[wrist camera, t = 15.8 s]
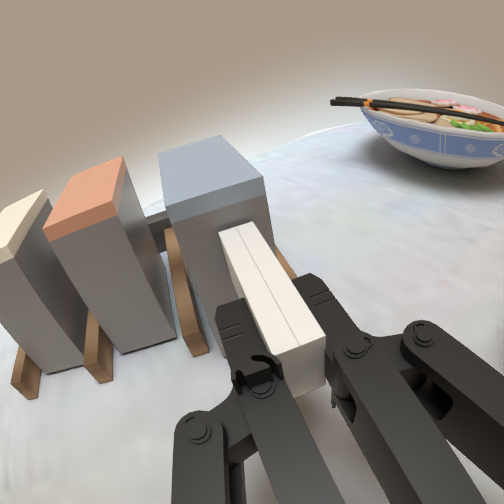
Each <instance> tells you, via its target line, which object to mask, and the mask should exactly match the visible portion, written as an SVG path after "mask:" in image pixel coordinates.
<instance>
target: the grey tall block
mask: <svg viewBox="0 0 504 504" xmlns="http://www.w3.org/2000/svg"><path fill="white" fill-rule="evenodd" d="M52 210H53V208H52V206H51V204H50V201H49V199H48V197H47V195H46V193H45V190H44V189H42V190H40V191H38V192H36V193H34V194H32V195H30V196H28V197H26V198H24V199H22V200H20V201H18V202H16V203H14V204H12V205H10V206H8V207H6V208H4V210H3V211H2V212H1V213H0V323H1V324H2V325H3V327H4V328H5V329H6V330H7V332H8V333H9V334H10V335H11V336H12V338H13V339H14V340H15V341H16V342H17V343H18V345H19V346H20V347H21V348H22V349H23V350H24V351H25V353H26V354H27V355H28V356H29V357H30V358H31V359H32V360H33V361H34V362H35V363H36V365H37V366H38V367H39V368H40V369H41V370H42V371H43V372H44V373H45V374H48V373H52V372H56V371H60V370H64V369H68V368H72V367H75V366H79V365H83V364H84V350H85V338H86V328H87V319H88V310H89V308H88V307H87V305H86V304H85V302H84V301H83V299H82V297H81V296H80V294H79V293H78V291H77V290H76V288H75V286H74V285H73V283H72V281H71V280H70V278H69V276H68V275H67V273H66V271H65V270H64V268H63V266H62V264H61V263H60V261H59V259H58V257H57V256H56V254H55V252H54V250H53V248H52V247H51V245H50V243H49V241H48V239H47V237H46V235H45V233H44V232H43V230H42V228H43V227H44V225H45V223H46V221H47V219H48V217H49V215H50V213H51V212H52Z"/></svg>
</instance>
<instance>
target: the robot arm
mask: <svg viewBox="0 0 504 504" xmlns="http://www.w3.org/2000/svg"><path fill="white" fill-rule="evenodd" d="M218 233H219V237H220V240H221V244H222V247H223V251H224V254H225V258H226V261H227V265H228V268H229V272H230V275H231V279H232V282H233V284H234V287H235V289H236V292H237V294H238V297H239V299H238V300H235V301H232V302H229V303H226V304H223V305H220V306H217V309H216V314H215V318H214V319H215V322H216V325H217V328H218V331H219V335H220V338H221V341H222V344H223V347H224V350H225V354H226V357H227V360H228V363H229V366H230V369H231V381H232V383H233V388H232V391H231V393H230V395H229V396H228V397H227V399H225V400H224V401H223V402H222V403H221V404H219V405H218V406H216V407H215V408H213V409H212V410H210V411H209V412H208V411H200V410H198V411H194V412H190V413H188V414H187V415H185V416H184V417H182V418H181V419H180V421H179V422H178V423H177V425H176V429H175V432H174V447H173V468H172V497H171V504H246V491H245V475H244V460H246V459H247V458H248V457H250V456H251V455H253V454H254V453H255V452H257V451H258V452H259V454H260V457H261V460H262V462H263V465H264V467H265V470H266V473H267V475H268V478H269V480H270V483H271V485H272V488H273V490H274V493H275V495H276V498H277V500H278V503H279V504H345V502H344V500H343V498H342V497H341V495H340V493H339V491H338V488H337V486H336V484H335V482H334V480H333V478H332V476H331V474H330V472H329V470H328V468H327V466H326V464H325V462H324V460H323V458H322V456H321V454H320V452H319V450H318V448H317V446H316V444H315V442H314V440H313V438H312V435H311V433H310V431H309V429H308V427H307V425H306V423H305V421H304V419H303V417H302V415H301V412H300V410H299V408H298V406H297V404H296V402H295V400H294V398H295V397H297V396H300V395H302V394H305V393H307V392H310V391H312V390H314V389H317V388H319V387H322V386H324V385H326V379H327V380H328V382H329V384H330V386H331V388H332V394H331V404H332V408H335V407H336V405H337V407H338V408H339V410H340V412H341V414H342V416H343V417H344V419H345V421H346V423H347V425H348V427H349V428H350V430H351V432H352V434H353V436H354V438H355V439H356V441H357V443H358V445H359V447H360V448H361V450H362V452H363V454H364V456H365V458H366V459H367V461H368V463H369V465H370V467H371V468H372V470H373V472H374V474H375V476H376V478H377V479H378V481H379V483H380V485H381V487H382V489H383V490H384V492H385V494H386V496H387V498H388V499H389V501H390V503H391V504H486V502H485V501H484V499H483V497H482V496H481V494H480V492H479V491H478V489H477V487H476V486H475V484H474V483H473V481H472V479H471V478H470V476H469V475H468V473H467V471H466V470H465V468H464V467H463V465H462V464H461V462H460V461H459V459H458V457H457V456H456V454H455V453H454V451H453V450H452V448H451V447H450V445H449V444H448V442H447V441H446V439H447V440H448V441H449V442H450V443H451V444H452V445H453V446H454V447H456V448H457V449H458V450H459V451H460V452H461V453H462V454H464V455H465V456H466V457H467V458H468V459H469V460H470V461H471V462H473V463H474V464H475V465H476V466H477V467H478V468H479V469H481V470H482V471H483V472H484V473H485V474H486V475H487V476H489V477H490V478H491V479H492V480H493V481H494V482H495V483H496V484H498V485H499V486H500V487H501V488H502V489H503V490H504V376H503V375H502V374H501V373H499V372H498V371H497V370H495V369H494V368H493V367H492V366H490V365H489V364H488V363H486V362H485V361H484V360H483V359H481V358H480V357H479V356H477V355H476V354H475V353H473V352H472V351H471V350H469V349H468V348H467V347H465V346H464V345H463V344H461V343H460V342H459V341H457V340H456V339H455V338H453V337H452V336H451V335H449V334H448V333H447V332H445V331H444V330H443V329H441V328H440V327H439V326H437V325H436V324H434V323H432V322H430V321H425V320H419V321H414V322H412V323H410V324H409V325H407V327H406V328H405V330H404V332H403V334H398V335H392V336H385V337H375V336H371V335H370V334H368V333H365V332H363V331H361V330H360V329H359V328H358V327H357V326H356V325H355V323H354V322H353V321H352V319H351V318H350V317H349V315H348V314H347V313H346V311H345V310H344V308H343V307H342V306H341V304H340V303H339V302H338V300H337V299H335V296H334V295H333V294H332V292H331V291H329V288H328V287H327V286H326V284H325V283H324V282H323V280H322V279H320V278H318V277H317V276H315V275H313V274H311V273H309V274H306V275H303V276H301V277H298V278H295V279H292V280H290V278H289V277H288V275H287V274H286V272H285V271H284V269H283V268H282V266H281V264H280V263H279V261H278V260H277V258H276V257H275V255H274V254H273V252H272V250H271V249H270V247H269V246H268V244H267V243H266V241H265V240H264V238H263V237H262V235H261V234H260V232H259V230H258V229H257V227H256V226H255V224H254V223H253V221H252V222H249V223H246V224H242V225H239V226H236V227H233V228H230V229H227V230H224V231H221V232H218Z"/></svg>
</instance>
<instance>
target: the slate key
mask: <svg viewBox="0 0 504 504" xmlns="http://www.w3.org/2000/svg"><path fill="white" fill-rule="evenodd" d="M158 158H159V167H160V174H161V181H162V189H163V196H164V202H165V208H166V210H167V213H168V216H169V219H170V222H171V225H172V227H173V230H174V233H175V236H176V239H177V241H178V244H179V247H180V249H181V252H182V255H183V258H184V260H185V263H186V265H187V268H188V271H189V273H190V276H191V279H192V281H193V284H194V286H195V289H196V291H197V294H198V296H199V299H200V301H201V304H202V306H203V309H204V311H205V314H206V316H207V319H208V321H209V324H210V326H211V328H212V331H213V333H214V336H215V338H216V340H217V343H218V345H219V347H220V350H221V352H222V354H223V357H226V354H225V350H224V347H223V344H222V341H221V338H220V335H219V331H218V328H217V325H216V322H215V319H214V318H215V314H216V309H217V306H220V305H223V304H226V303H229V302H232V301H235V300H238V299H239V297H238V294H237V292H236V289H235V287H234V284H233V282H232V279H231V275H230V272H229V268H228V265H227V261H226V258H225V254H224V251H223V247H222V244H221V240H220V237H219V233H218V232H221V231H224V230H227V229H230V228H233V227H236V226H239V225H242V224H246V223H249V222H252V221H253V223H254V224H255V226H256V227H257V229H258V230H259V232H260V234H261V235H262V237H263V238H264V240H265V241H266V243H267V244H268V246H269V247H270V249H271V250H272V252H273V254H274V255H275V257H276V258H277V255H276V249H275V243H274V237H273V231H272V226H271V220H270V214H269V208H268V202H267V197H266V191H265V185H264V180H263V176H262V175H261V174H260V173H259V172H258V171H257V170H256V169H255V168H254V167H253V166H252V165H251V164H250V163H249V162H248V161H247V160H246V159H245V158H244V157H243V156H242V155H241V154H240V153H239V152H238V151H237V150H235V149H234V148H233V147H232V146H231V145H230V144H229V143H228V142H227V141H226V140H225V139H224V138H223V137H222V136H221V135H219V136H215V137H211V138H208V139H204V140H201V141H198V142H194V143H191V144H187V145H184V146H181V147H178V148H175V149H171V150H168V151H165V152H162V153H159V154H158Z"/></svg>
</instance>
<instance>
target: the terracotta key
mask: <svg viewBox="0 0 504 504" xmlns="http://www.w3.org/2000/svg"><path fill="white" fill-rule="evenodd" d="M42 230H43V232H44V233H45V235H46V237H47V239H48V241H49V243H50V245H51V247H52V248H53V250H54V252H55V254H56V256H57V257H58V259H59V261H60V263H61V264H62V266H63V268H64V270H65V271H66V273H67V275H68V276H69V278H70V280H71V281H72V283H73V285H74V286H75V288H76V290H77V291H78V293H79V294H80V296H81V297H82V299H83V301H84V302H85V304H86V305H87V307H88V308H89V310H90V311H91V313H92V314H93V316H94V317H95V319H96V320H97V322H98V323H99V325H100V326H101V327H102V329H103V330H104V332H105V333H106V335H107V336H108V337H109V339H110V340H111V342H112V343H113V344H114V346H115V347H116V348H117V350H118V351H119V352H120V354H123V353H126V352H130V351H133V350H136V349H140V348H143V347H146V346H150V345H153V344H156V343H159V342H163V341H166V340H169V339H172V338H175V337H176V332H175V326H174V321H173V315H172V309H171V303H170V297H169V291H168V284H167V277H166V271H165V265H164V263H163V261H162V258H161V256H160V253H159V251H158V249H157V246H156V244H155V241H154V239H153V236H152V234H151V231H150V229H149V226H148V224H147V221H146V219H145V216H144V213H143V211H142V208H141V206H140V203H139V200H138V197H137V195H136V192H135V189H134V187H133V184H132V181H131V178H130V176H129V173H128V170H127V167H126V164H125V161H124V158H123V156H121V157H119V158H116V159H114V160H111V161H108V162H106V163H103V164H101V165H98V166H95V167H93V168H90V169H88V170H86V171H83V172H81V173H79V174H76V175H74V176H72V177H71V179H70V181H69V182H68V184H67V185H66V187H65V189H64V190H63V192H62V194H61V196H60V197H59V199H58V201H57V203H56V205H55V206H54V208H53V210H52V212H51V213H50V215H49V217H48V219H47V221H46V223H45V225H44V227H43V228H42Z"/></svg>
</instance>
